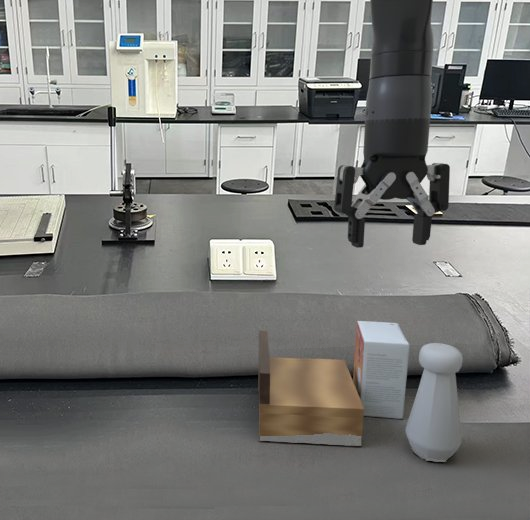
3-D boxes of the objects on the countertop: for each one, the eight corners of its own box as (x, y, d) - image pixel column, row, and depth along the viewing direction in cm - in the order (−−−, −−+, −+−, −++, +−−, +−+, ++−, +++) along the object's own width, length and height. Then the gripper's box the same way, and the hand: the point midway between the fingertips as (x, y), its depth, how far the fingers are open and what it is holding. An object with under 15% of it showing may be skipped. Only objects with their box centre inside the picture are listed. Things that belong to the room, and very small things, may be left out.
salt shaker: (466, 470, 58) (479, 359, 55) (410, 466, 59) (420, 356, 56) (450, 441, 63) (460, 338, 60) (399, 437, 64) (407, 336, 61)
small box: (352, 388, 77) (356, 319, 75) (393, 391, 76) (398, 321, 73) (358, 416, 69) (362, 340, 67) (403, 420, 68) (410, 343, 66)
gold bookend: (342, 392, 76) (345, 332, 74) (361, 447, 62) (366, 376, 60) (258, 388, 77) (258, 330, 75) (258, 442, 64) (259, 372, 62)
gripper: (355, 116, 61) (348, 253, 65) (470, 114, 63) (457, 248, 66) (330, 118, 68) (325, 242, 72) (433, 117, 70) (423, 238, 74)
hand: (388, 245), depth 69 cm, fingers open, 8 cm apart
